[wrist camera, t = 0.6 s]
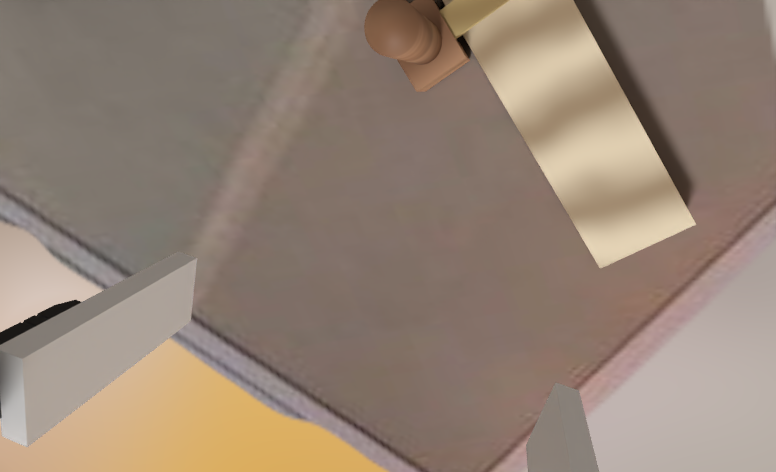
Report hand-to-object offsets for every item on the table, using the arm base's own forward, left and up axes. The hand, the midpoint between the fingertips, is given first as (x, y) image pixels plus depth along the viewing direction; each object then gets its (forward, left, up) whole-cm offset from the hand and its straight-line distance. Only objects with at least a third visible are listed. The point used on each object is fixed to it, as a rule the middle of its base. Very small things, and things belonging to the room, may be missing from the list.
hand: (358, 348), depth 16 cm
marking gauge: (-10, +9, -24) cm, 28 cm away
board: (-1, +11, -24) cm, 27 cm away
